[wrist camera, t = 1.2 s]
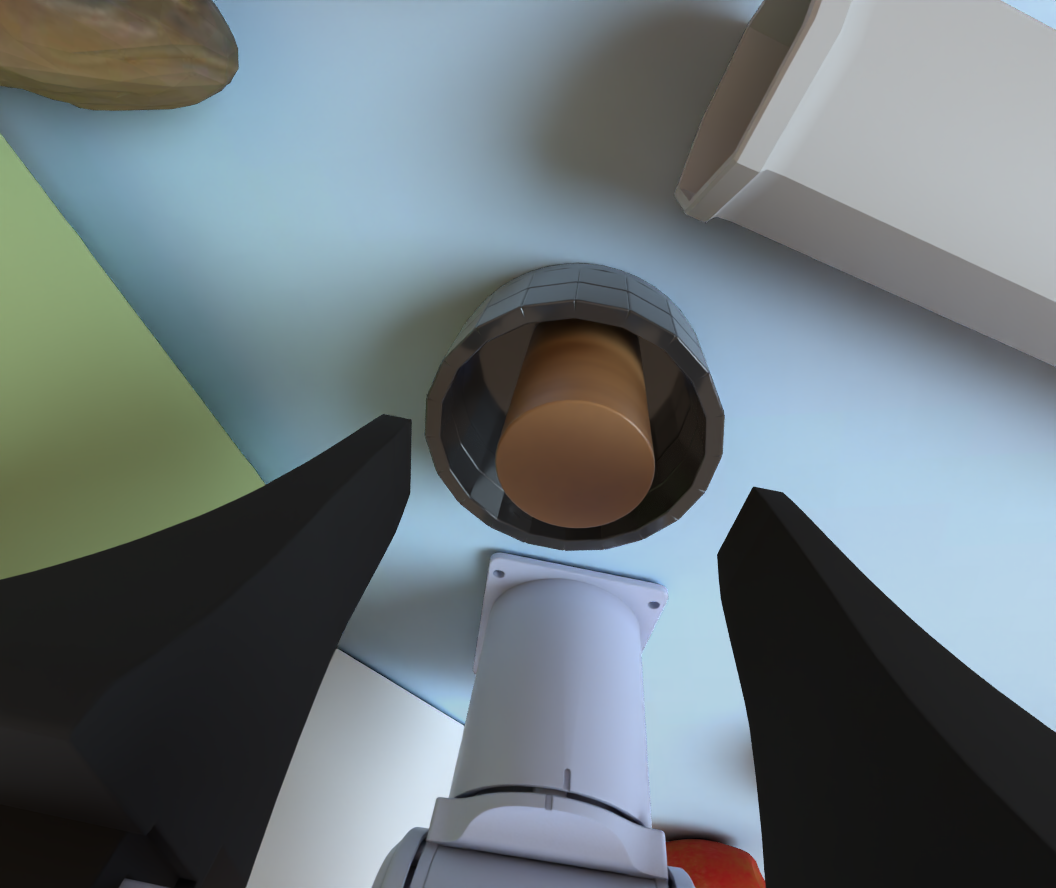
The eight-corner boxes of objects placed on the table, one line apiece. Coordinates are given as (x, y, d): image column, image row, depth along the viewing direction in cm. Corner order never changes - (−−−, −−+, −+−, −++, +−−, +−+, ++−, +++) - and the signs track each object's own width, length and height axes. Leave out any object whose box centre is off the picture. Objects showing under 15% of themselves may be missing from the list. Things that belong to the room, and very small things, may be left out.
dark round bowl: (660, 504, 20) (669, 572, 17) (447, 462, 20) (421, 522, 17) (745, 291, 15) (777, 338, 12) (462, 238, 15) (430, 271, 13)
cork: (624, 415, 17) (630, 541, 13) (520, 395, 18) (487, 512, 13) (654, 315, 15) (677, 419, 10) (537, 292, 15) (504, 385, 11)
